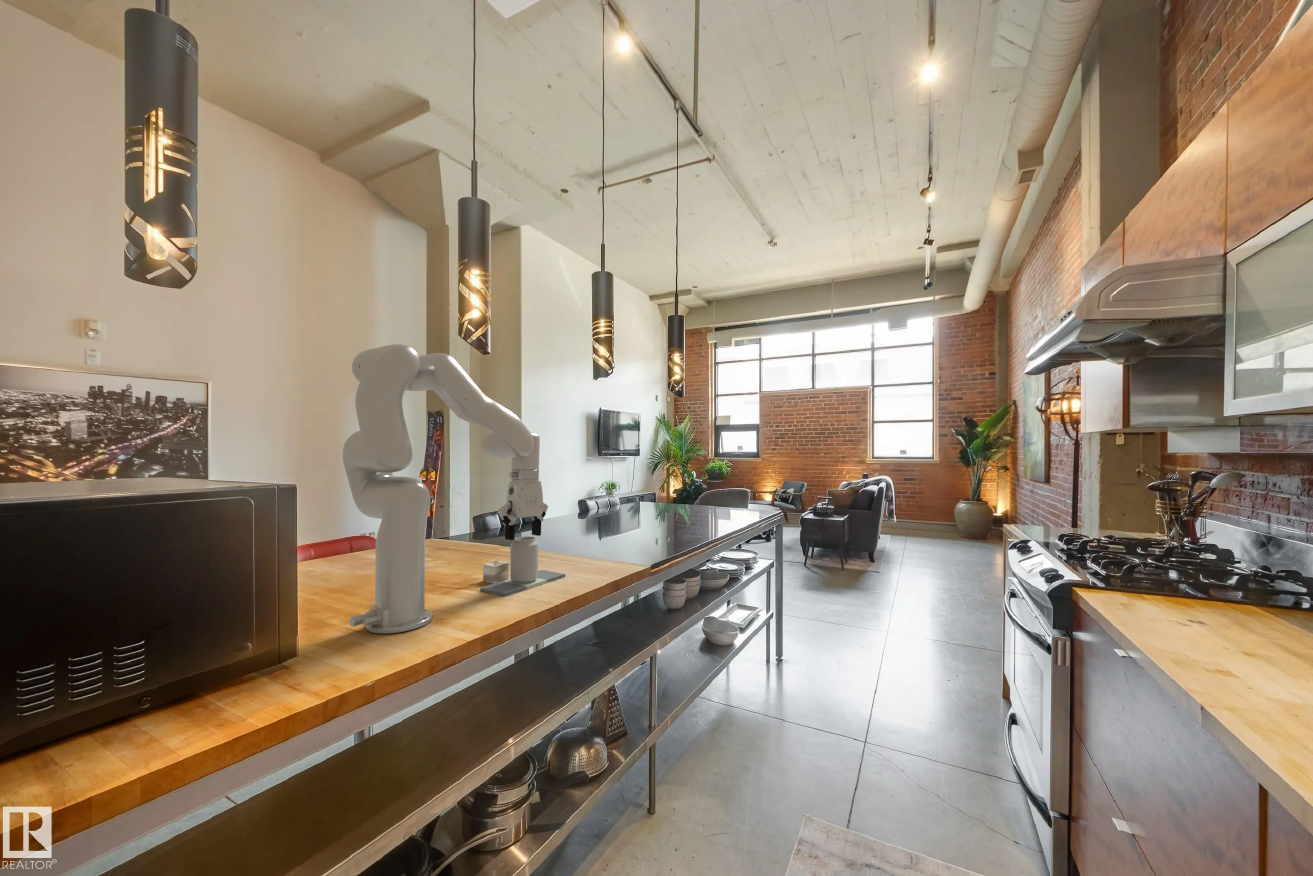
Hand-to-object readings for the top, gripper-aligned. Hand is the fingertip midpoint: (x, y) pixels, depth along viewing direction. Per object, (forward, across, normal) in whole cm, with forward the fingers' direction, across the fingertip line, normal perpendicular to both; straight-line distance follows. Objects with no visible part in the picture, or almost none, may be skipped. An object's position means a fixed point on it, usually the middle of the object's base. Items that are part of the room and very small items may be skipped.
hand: (523, 537), depth 135 cm
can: (+12, +1, 0) cm, 12 cm away
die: (+13, -1, +10) cm, 16 cm away
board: (+13, +1, 0) cm, 13 cm away
